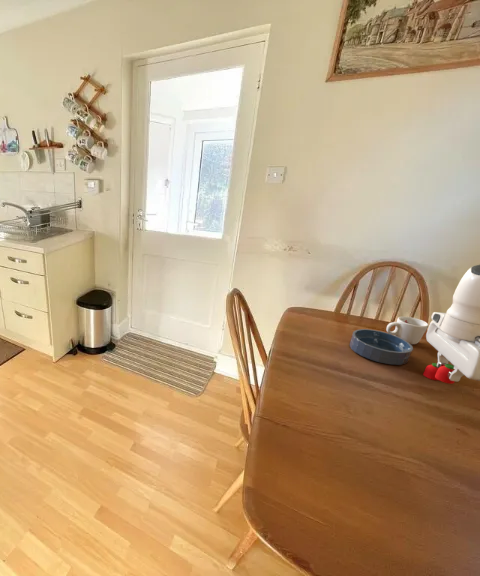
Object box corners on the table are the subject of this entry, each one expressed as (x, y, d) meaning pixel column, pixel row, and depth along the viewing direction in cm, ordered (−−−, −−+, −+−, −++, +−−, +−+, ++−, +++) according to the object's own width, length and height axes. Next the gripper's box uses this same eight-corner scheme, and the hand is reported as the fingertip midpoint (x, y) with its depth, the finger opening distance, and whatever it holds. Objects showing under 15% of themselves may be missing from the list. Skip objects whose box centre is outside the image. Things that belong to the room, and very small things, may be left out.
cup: (389, 344, 111) (397, 324, 108) (376, 333, 118) (383, 314, 115) (426, 347, 109) (435, 327, 106) (410, 336, 116) (418, 317, 113)
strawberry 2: (449, 376, 85) (455, 363, 83) (457, 384, 82) (464, 371, 80) (431, 374, 86) (437, 360, 84) (439, 381, 83) (445, 368, 81)
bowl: (395, 345, 110) (400, 333, 108) (417, 370, 97) (423, 356, 95) (343, 338, 116) (347, 326, 114) (357, 360, 102) (361, 347, 101)
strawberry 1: (429, 372, 96) (435, 360, 94) (443, 379, 93) (449, 367, 91) (419, 373, 96) (424, 361, 94) (432, 381, 92) (438, 368, 91)
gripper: (517, 351, 68) (490, 402, 73) (459, 313, 86) (440, 356, 91) (478, 346, 70) (454, 396, 75) (429, 310, 88) (412, 352, 93)
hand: (446, 373), depth 83 cm, fingers closed on strawberry 2, 3 cm apart
